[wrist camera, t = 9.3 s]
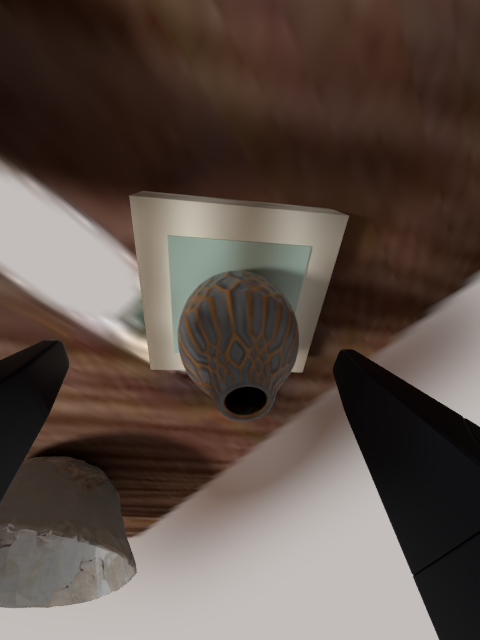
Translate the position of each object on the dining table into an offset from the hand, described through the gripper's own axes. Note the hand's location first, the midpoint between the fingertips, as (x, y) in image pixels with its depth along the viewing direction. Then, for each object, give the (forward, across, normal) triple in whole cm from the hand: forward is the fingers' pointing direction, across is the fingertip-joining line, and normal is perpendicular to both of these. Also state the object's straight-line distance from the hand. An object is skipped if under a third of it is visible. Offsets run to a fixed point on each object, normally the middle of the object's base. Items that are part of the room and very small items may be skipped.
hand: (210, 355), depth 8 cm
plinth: (+12, -2, +3) cm, 13 cm away
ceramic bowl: (+13, +18, +31) cm, 38 cm away
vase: (+9, -2, +3) cm, 10 cm away
